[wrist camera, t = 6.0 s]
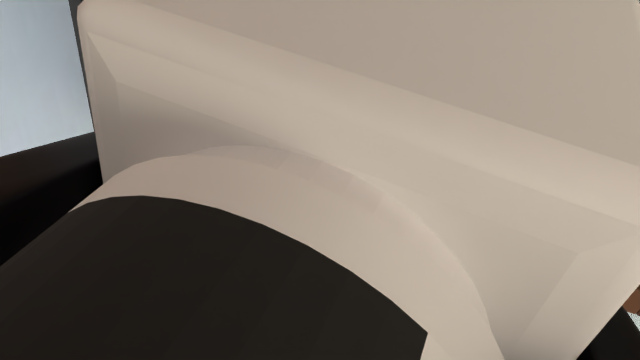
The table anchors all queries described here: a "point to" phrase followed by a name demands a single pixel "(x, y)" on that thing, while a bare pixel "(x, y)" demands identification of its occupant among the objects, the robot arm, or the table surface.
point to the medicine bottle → (344, 184)
